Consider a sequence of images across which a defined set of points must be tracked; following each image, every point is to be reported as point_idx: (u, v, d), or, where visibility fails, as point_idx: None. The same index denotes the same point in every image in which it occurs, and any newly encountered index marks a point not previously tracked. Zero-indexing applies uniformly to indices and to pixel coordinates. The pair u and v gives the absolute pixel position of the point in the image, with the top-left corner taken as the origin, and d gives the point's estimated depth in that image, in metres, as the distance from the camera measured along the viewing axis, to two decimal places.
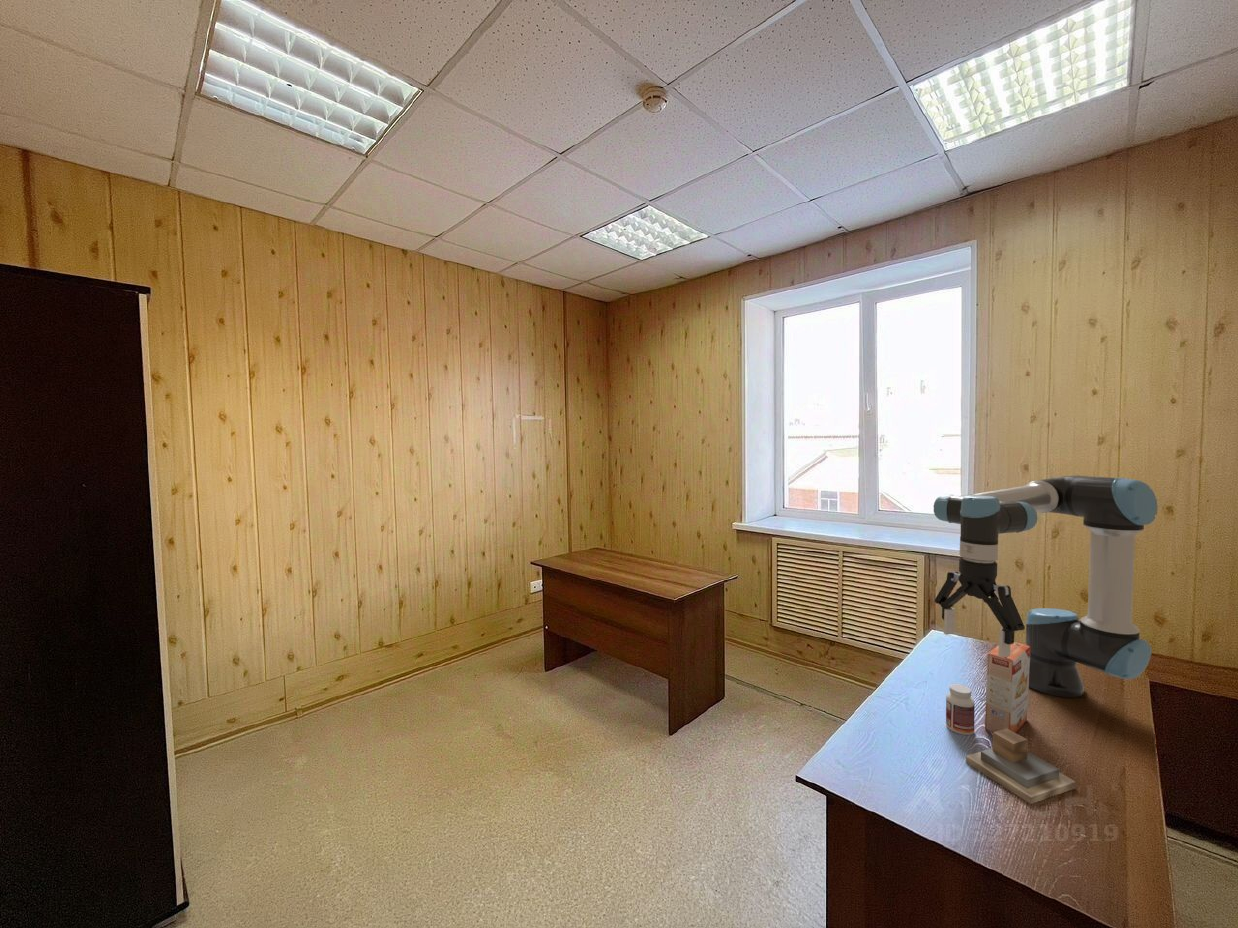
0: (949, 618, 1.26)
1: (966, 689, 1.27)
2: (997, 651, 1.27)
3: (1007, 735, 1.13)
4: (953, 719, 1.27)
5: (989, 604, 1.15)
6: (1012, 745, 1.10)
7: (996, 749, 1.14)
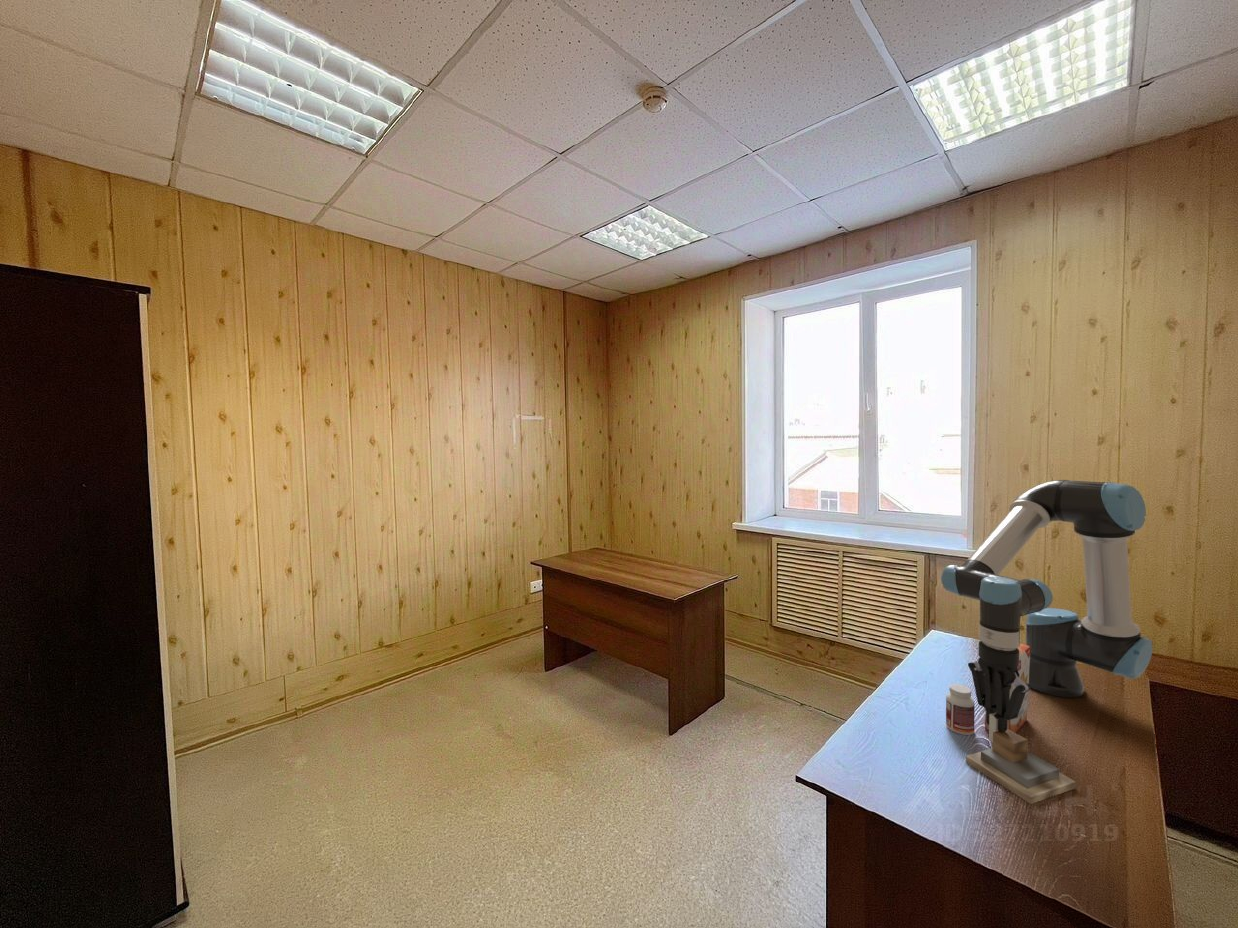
0: None
1: (966, 689, 1.27)
2: None
3: (1007, 735, 1.13)
4: (953, 719, 1.27)
5: (998, 691, 1.14)
6: (1012, 745, 1.10)
7: (996, 749, 1.14)
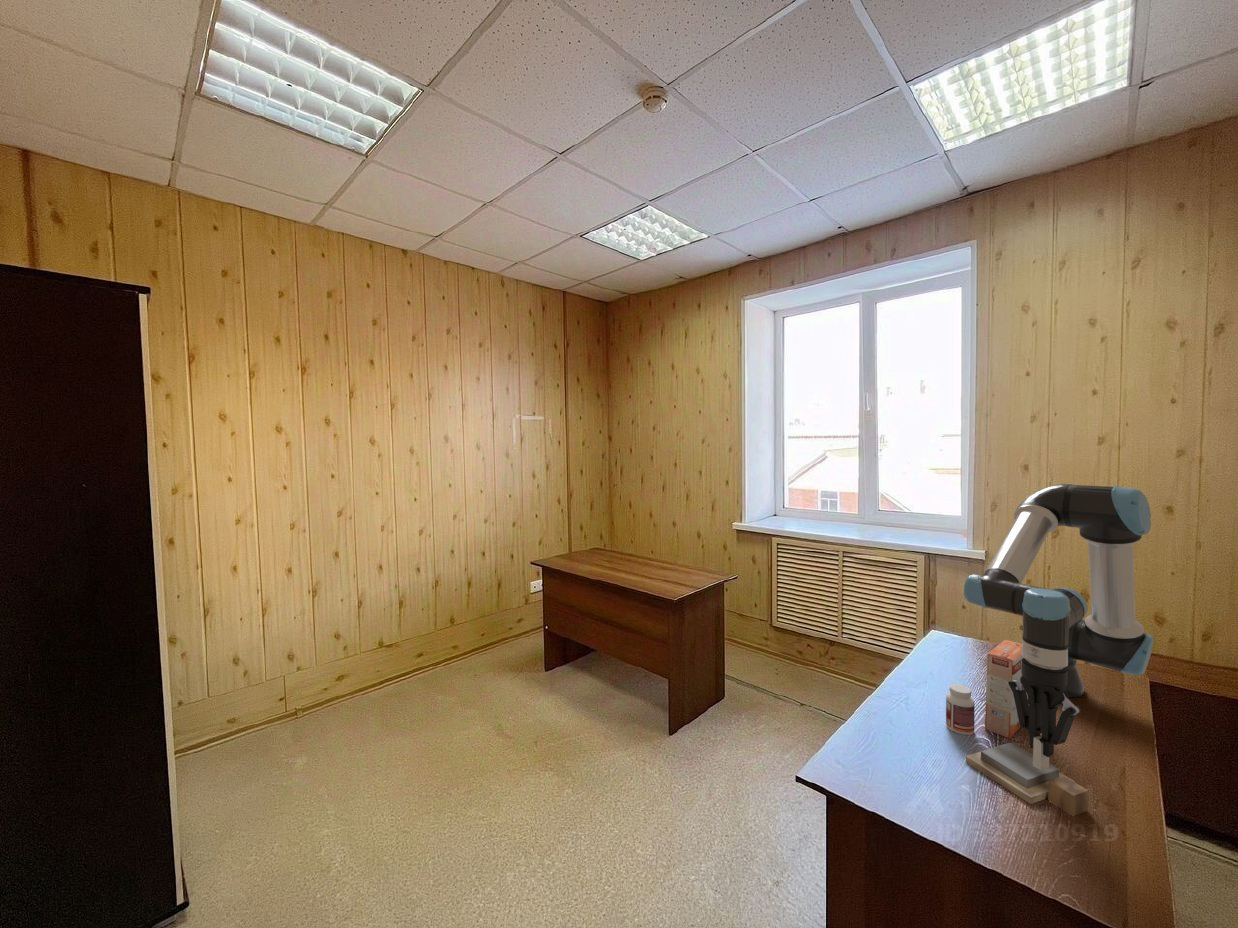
0: None
1: (966, 689, 1.27)
2: (997, 651, 1.27)
3: (1079, 802, 1.00)
4: (953, 719, 1.27)
5: (1044, 713, 1.05)
6: (1069, 813, 1.00)
7: (1052, 787, 1.03)
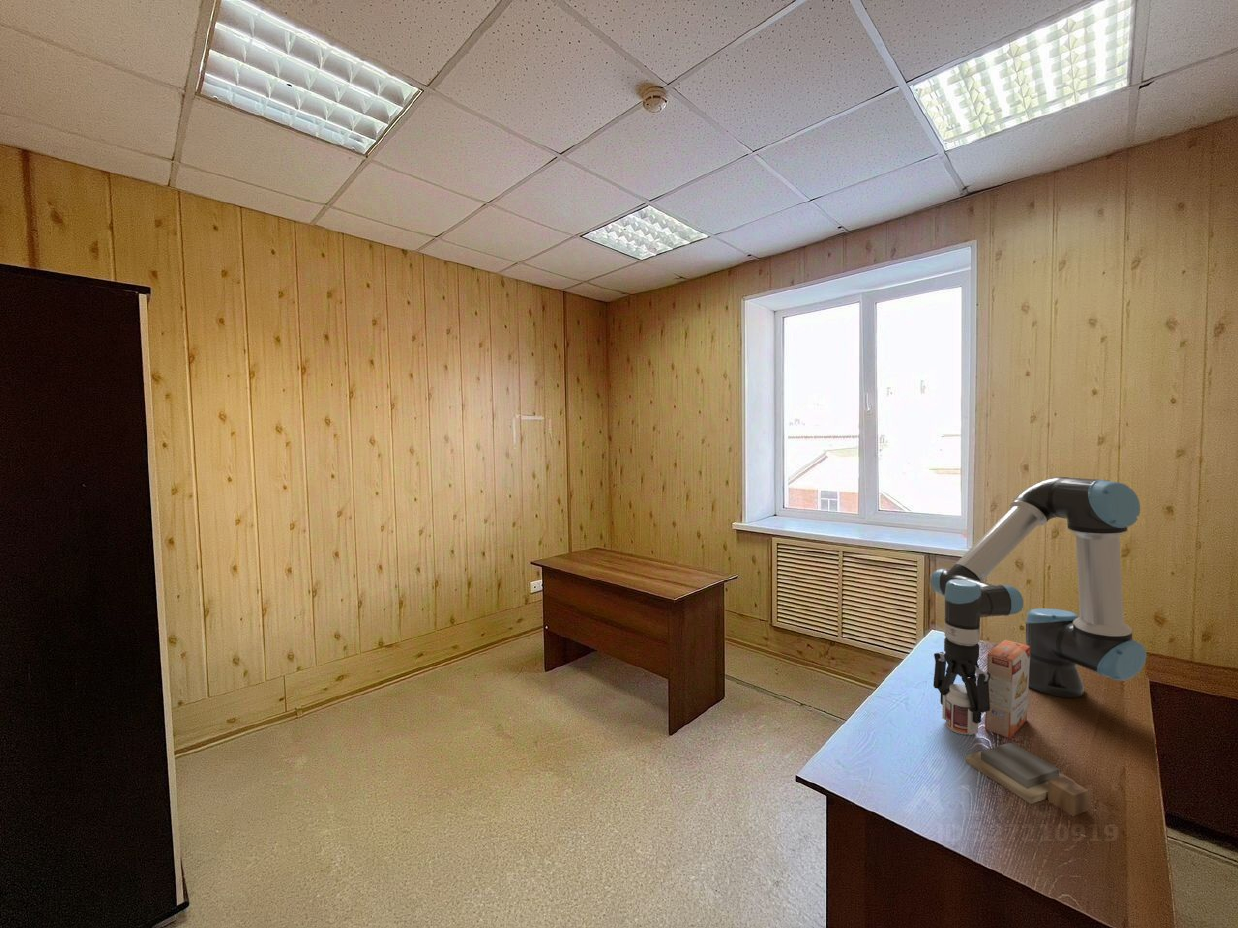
0: None
1: None
2: (997, 651, 1.27)
3: (1079, 802, 1.00)
4: (953, 719, 1.27)
5: (966, 684, 1.25)
6: (1069, 813, 1.00)
7: (1052, 787, 1.03)
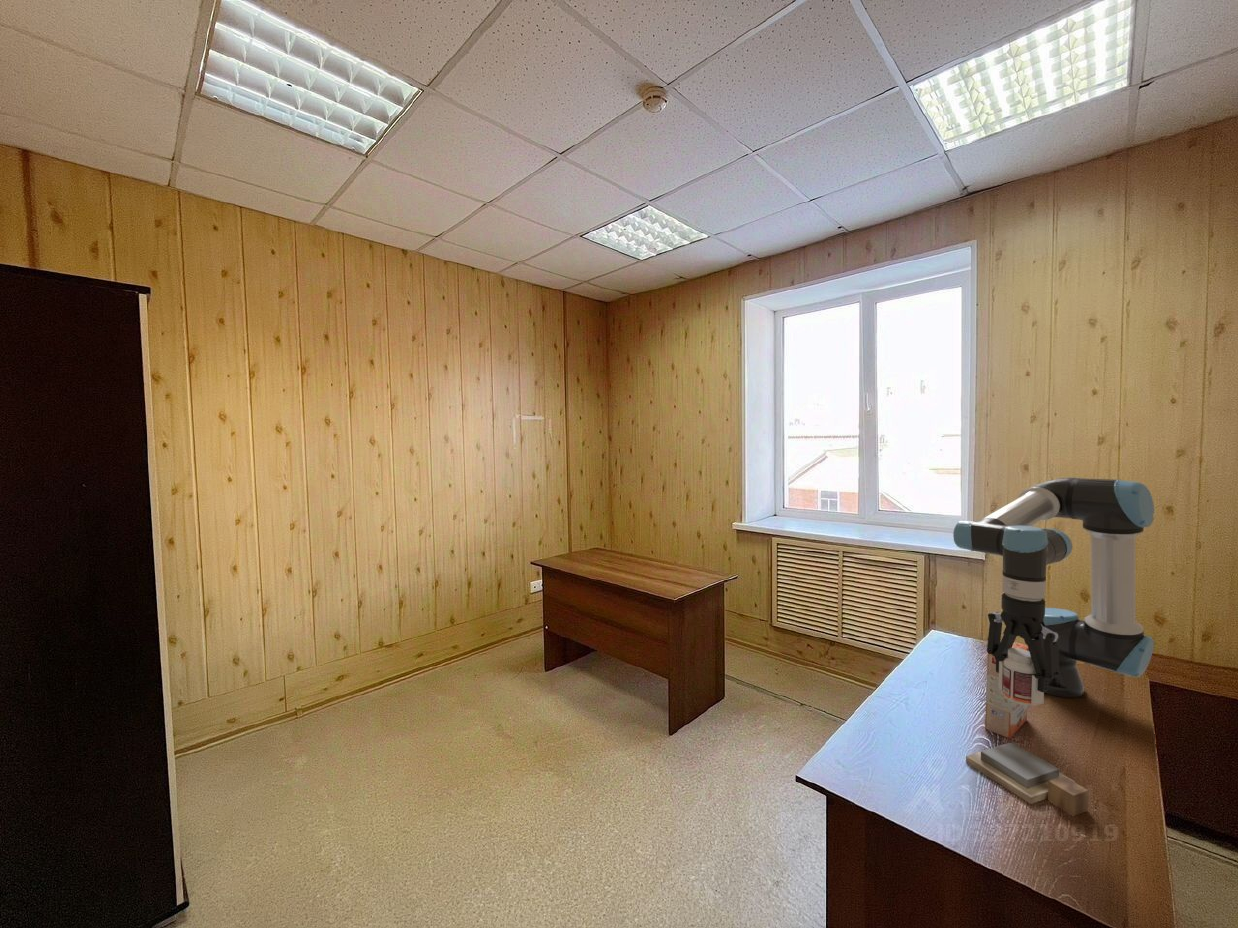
0: None
1: (1028, 653, 1.09)
2: None
3: (1079, 802, 1.00)
4: (1013, 688, 1.09)
5: (1029, 647, 1.07)
6: (1069, 813, 1.00)
7: (1052, 787, 1.03)
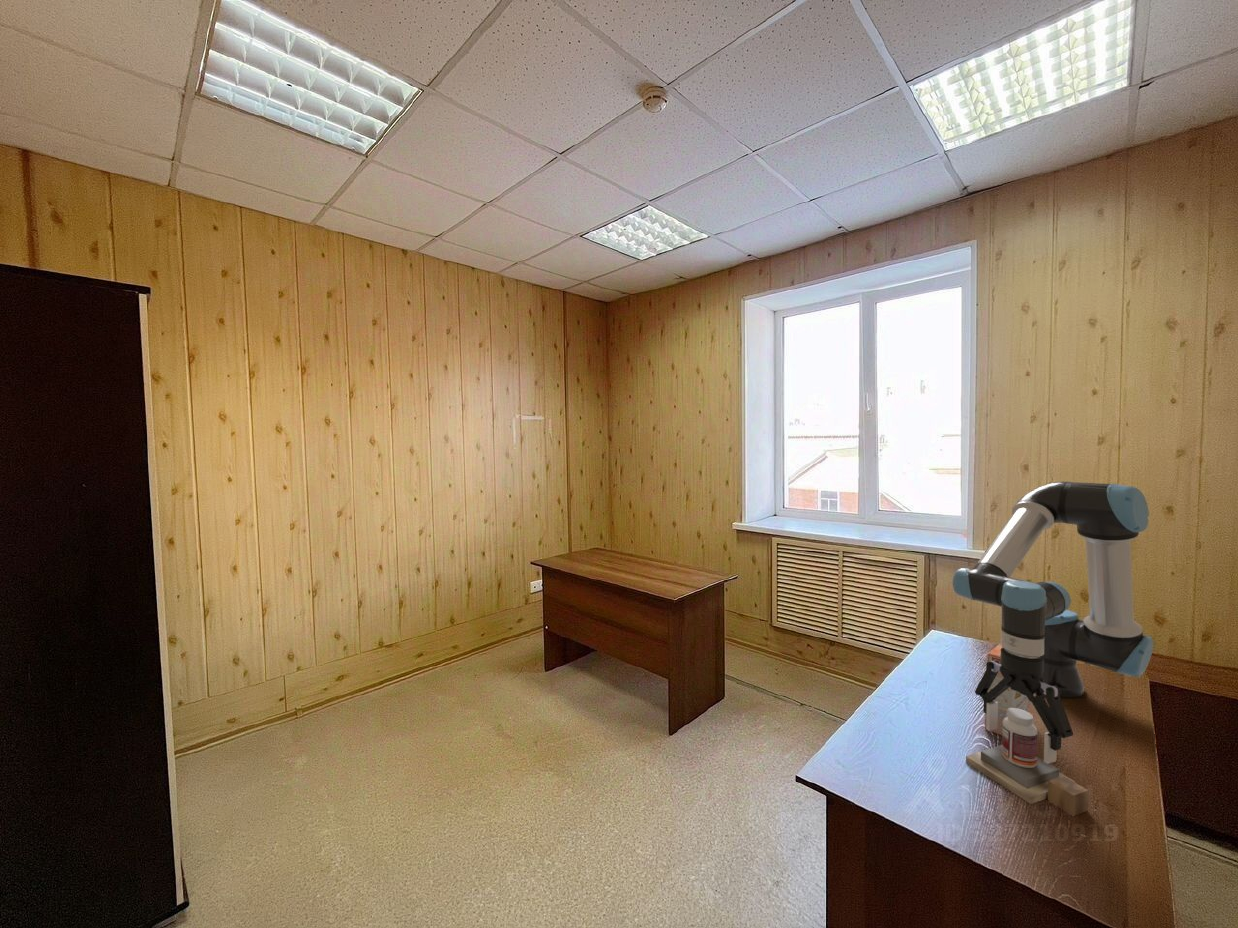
0: (992, 713, 1.16)
1: (1027, 715, 1.10)
2: (997, 651, 1.27)
3: (1079, 802, 1.00)
4: (1012, 749, 1.10)
5: (1034, 703, 1.07)
6: (1069, 813, 1.00)
7: (1052, 787, 1.03)
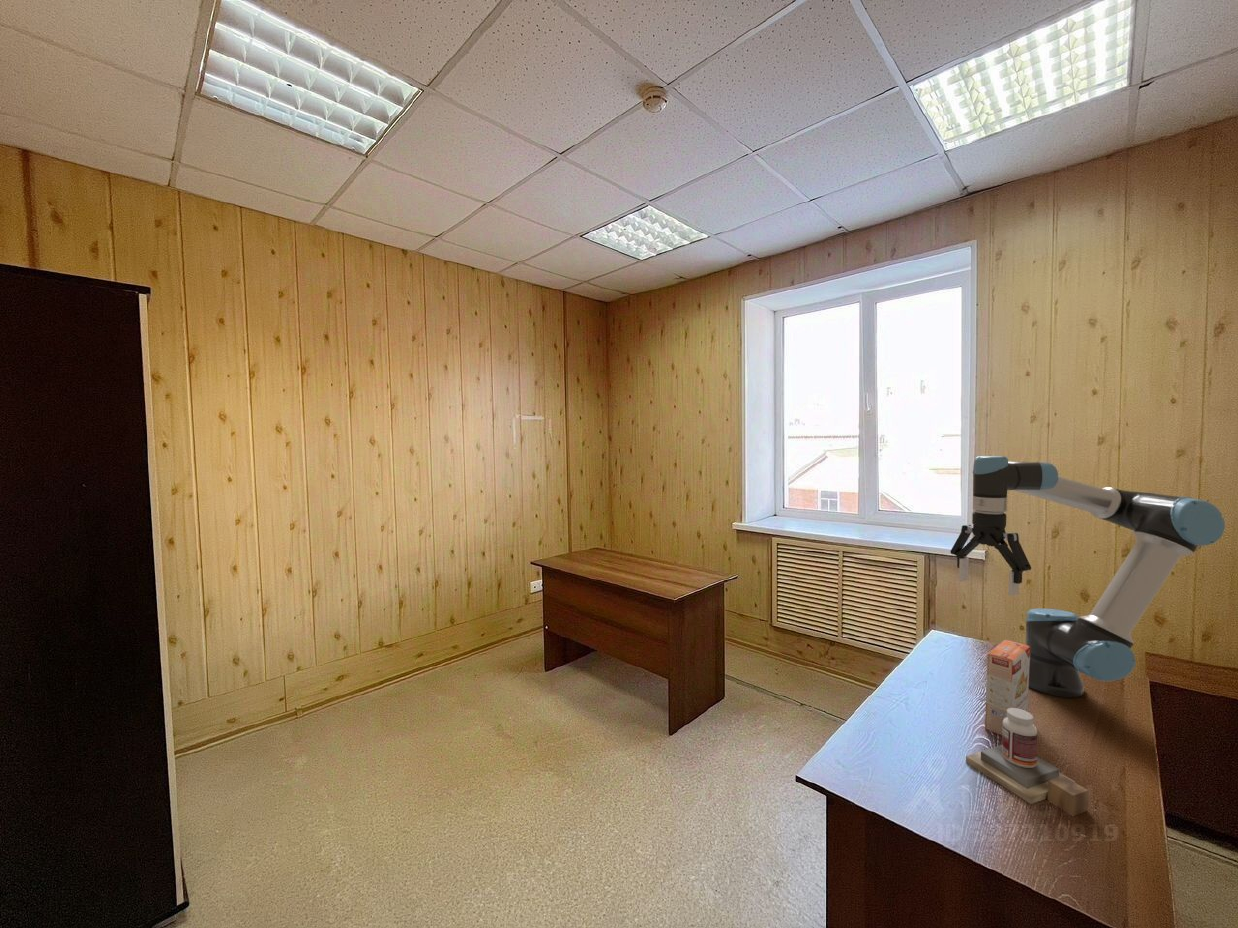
0: (964, 566, 1.42)
1: (1027, 715, 1.10)
2: (997, 651, 1.27)
3: (1079, 802, 1.00)
4: (1012, 749, 1.10)
5: (999, 550, 1.31)
6: (1069, 813, 1.00)
7: (1052, 787, 1.03)
